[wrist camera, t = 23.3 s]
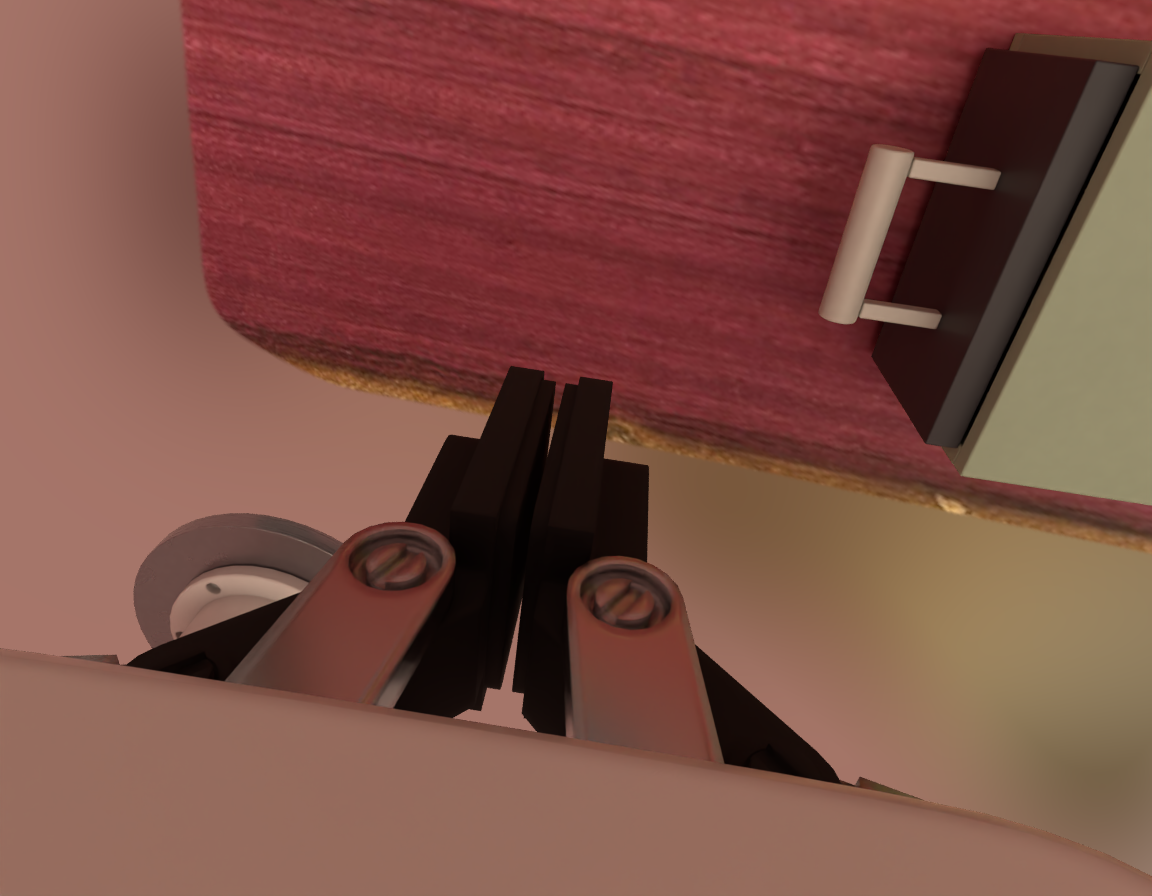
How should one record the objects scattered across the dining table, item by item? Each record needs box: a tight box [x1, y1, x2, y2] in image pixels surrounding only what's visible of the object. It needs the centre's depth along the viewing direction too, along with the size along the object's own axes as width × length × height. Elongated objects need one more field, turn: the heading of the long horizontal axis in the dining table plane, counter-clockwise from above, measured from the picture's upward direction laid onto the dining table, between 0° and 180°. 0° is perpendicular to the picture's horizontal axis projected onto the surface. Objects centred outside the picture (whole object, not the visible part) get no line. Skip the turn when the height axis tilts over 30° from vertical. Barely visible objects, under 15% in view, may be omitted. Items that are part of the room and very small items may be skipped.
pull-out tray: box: [819, 48, 1139, 448], centre depth 26 cm, size 18×12×8 cm
